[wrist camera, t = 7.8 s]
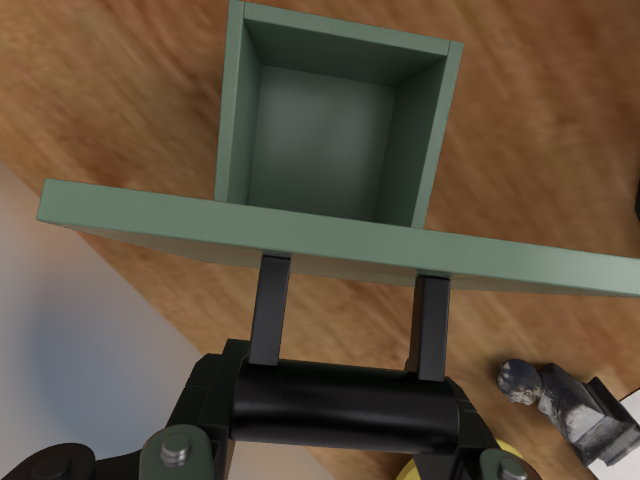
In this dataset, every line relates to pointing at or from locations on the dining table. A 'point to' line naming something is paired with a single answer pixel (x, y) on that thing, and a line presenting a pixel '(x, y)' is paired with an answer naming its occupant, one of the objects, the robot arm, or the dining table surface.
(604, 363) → the dining table surface
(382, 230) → the bin lid
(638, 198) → the tankard
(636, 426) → the security camera
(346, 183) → the bin
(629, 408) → the folded paper
